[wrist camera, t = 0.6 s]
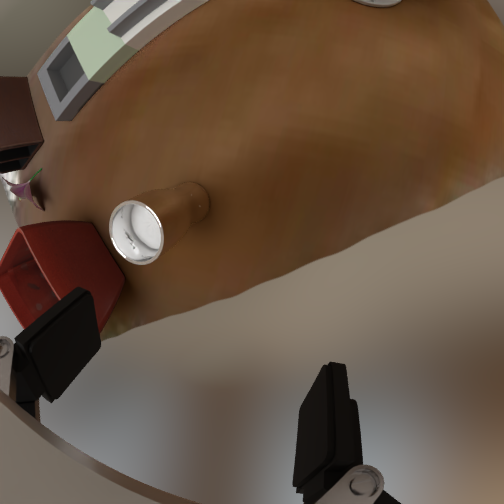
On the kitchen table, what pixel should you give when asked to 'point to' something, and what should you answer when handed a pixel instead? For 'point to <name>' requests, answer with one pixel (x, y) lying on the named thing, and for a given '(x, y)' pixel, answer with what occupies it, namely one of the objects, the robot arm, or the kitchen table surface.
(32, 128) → the letter holder
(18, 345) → the robot arm
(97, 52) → the channel deck
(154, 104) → the kitchen table surface
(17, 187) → the lily
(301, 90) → the kitchen table surface
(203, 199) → the beer glass
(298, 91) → the kitchen table surface
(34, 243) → the plant pot
